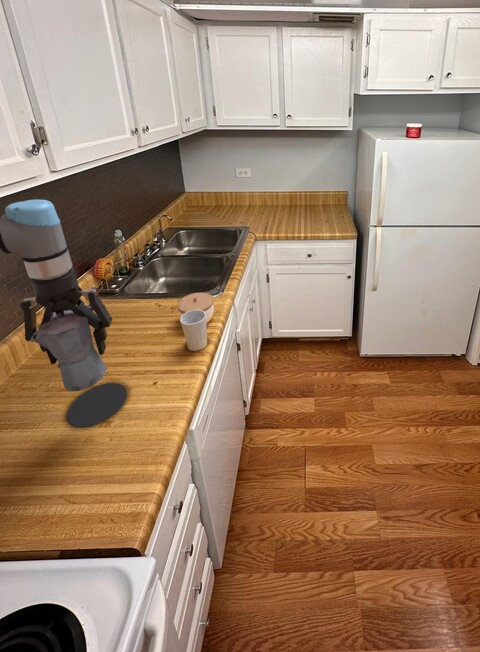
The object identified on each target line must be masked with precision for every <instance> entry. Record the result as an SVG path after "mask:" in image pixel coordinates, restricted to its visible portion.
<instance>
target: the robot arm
mask: <svg viewBox="0 0 480 652" xmlns="http://www.w3.org/2000/svg"><path fill="white" fill-rule="evenodd" d="M4 212H5V213H4V214H2V215H0V256H2V255H9V254H14V253H20V255H21V258H22V261H23V264H24V266H25V269H26V273H27V276H28V277H29V278H30V284H31V286H32V289H33V292H34V294H35V295H36V296H33V297H32V296H26V297H25V298H24V299H23V300H22V301H21V302H20V304H19V306H20V308H21V310H22V311H23V323H24V340H25V341H26V342H30V339H31V337H32V336H33V334H34V333H36V332H37V331H38V325H37V305H40V306H41V307H43V308H45V309H44V312H43V314H42V319H41V322H40V324H41V325H42V324H44V323H47V322H49V320H50V319H51V318H52V316H53V314H55V312H57V311H60V310H61V311H69V310H71V311H72V312H73V313H77V314H78V315H79V316H80V317H87V319H88V324H89V325H90V327H92V328H93V332H92V334H93V335H92V336H93V339H94V341H95V345H96V348H97V352H98V354H99V356H103V355H104V353H105V352H106V349H107V345H106V342H105V341H106V340H107V337H108V333H107V330H106V329H107V328H110V326H111V325H112V322H113V317H112V316H111V314H110V313H109V311H108V309H107V308H106V305H105V304H104V303H103V301H102V300H101V298H100V296H99V291H98V288H97V287H95V286H93V287H91V289H83V288H81V287H80V285H79V281H78V278H77V275H76V270H75V268H74V267H73V261H72V258H71V255H70V251H69V248H68V246H67V242H66V239H65V235H64V232H63V228H62V224H61V219H60V218H59V215H58V214H57V210H56V207H55V206H54V204H53V203H52V202H51V201H49V200H47V199H27V200H22V201H17V202H13V203H10V204H9V205H7V206H6V207H5V209H4ZM81 297H84V298H85V300H86V301H88V303H89V304H90V305H91V307H92V308H93V311H92V310H90V309H89V308H88V307H87V306H86V303H85V302H84V300H82V298H81ZM104 305H105V306H104ZM38 345H39V348H40V350H41V352H42V353H46V354H47V357H48V360H49V362H50V364H51V365H55V364H56V363H57V362H58V360H57V359H56V358H55V357H54V356H53V355H52V353H51V352H50V350H48V349H47V348H45V347H43V346H42V345H40V344H38Z"/></svg>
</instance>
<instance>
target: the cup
mask: <svg viewBox="0 0 480 652" xmlns="http://www.w3.org/2000/svg"><path fill="white" fill-rule="evenodd" d="M179 323H180V325H181V328H182V331H183V335H184V338H185V342H186V345H187V349H188V350H189V351H193V352H196V351H199V350H203V349H204V348H206V346H207V344H208V335H207V333H208V332H207V323H206V313H205V312H204V311H202V310H191V311H188V312H186V313H184V314H183V315H182V316H181V317H180V318H179Z"/></svg>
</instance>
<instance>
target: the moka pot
mask: <svg viewBox="0 0 480 652" xmlns="http://www.w3.org/2000/svg"><path fill="white" fill-rule="evenodd" d="M85 305H86V304H85ZM86 306H87V307H88V308H89V309H90V310H92V311H93V312H94V310H93V308H92V307H91V305H90V303H89V304H87V305H86ZM104 306H105V307H106V305H105V304H104ZM29 342H30V343H37V344H38V345H39V344H40V345H42V346H43V347H45V348H47V349H48V350H50V352H51V353H52V355H53V356H54V357H55V358H56V359H57V362H58V363H57V365H56V366H57V368H58V369H59V370H60V375H61V380H62V385H63V387H64V389H65V390H66V391H68V392H81V391H84V390H87V389H90V388H91V387H93V386H95V385H96V384H97V383H98V382H100V381H101V380H102V379H103V378H104V376H105V375H106V373H107V370H108V367H107V366H106V364H105V362H104V361H103V359H102V357H101V355H99V351H98V350H97V349H96V348H95V346H94V342H93V335H92V331H91V325H89V324H88V319H87V317H80V316H79V315H78V314H77V313H73V312H72V311H71V310H69V311H61V310H60V311H57V312H55V313H54V314H53V316H52V318H51V319H50V320H49V322H47V323H44V324H42V325H41V323H39V324H38V325H37V332H36V333H34V334H33V336H32V337H31V339H30V341H29ZM40 345H39V346H40Z"/></svg>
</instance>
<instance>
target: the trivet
mask: <svg viewBox="0 0 480 652" xmlns="http://www.w3.org/2000/svg"><path fill="white" fill-rule="evenodd" d="M127 399H128V391H127V389H126V387H125V386H124V385H122V384H121V383H116V382H109V383H108V382H107V383H102V384H99V385H97V386H94V387H92V388H89V389H88V390H85V392H83V393H82V394H81V395H79V396H78V397H77V398H76V399H75V400H74V401H73V402H72V403H71V404H70V406H69V408H68V410H67V412H66V420H67V423H68V424H69V425H70V426H72V427H75V428H88V427H89V428H90V427H93V426H96V425H99V424H101V423H103V422H105V421H107V420H108V419H110V418H112V417H113V416H114V415H115V414H117V412H119V411H120V410H121V408H122V407H123V406H124V404H125V403H126V400H127Z"/></svg>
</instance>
